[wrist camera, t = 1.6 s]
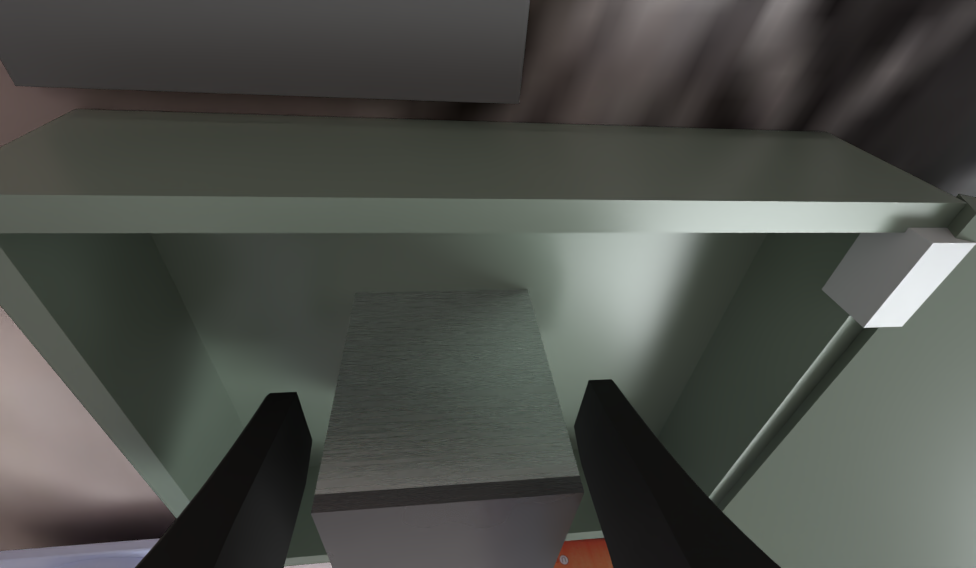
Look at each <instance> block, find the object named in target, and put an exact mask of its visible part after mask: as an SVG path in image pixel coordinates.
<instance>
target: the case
mask: <svg viewBox="0 0 976 568" xmlns="http://www.w3.org/2000/svg"><path fill="white" fill-rule="evenodd" d="M472 290H528V292H529V295H530V299H531V302H532V306H533V310H534V313H535V317H536V320H537V324H538V328H539V331H540V335H541V338H542V342H543V346H544V349H545V353H546V356H547V360H548V363H549V367H550V371H551V374H552V378H553V381H554V385H555V389H556V392H557V396H558V399H559V403H560V407H561V410H562V414H563V417H564V421H565V424H566V428H567V432H568V435H569V439H570V442H571V446H572V450H573V453H574V457H575V460H576V464H577V468H578V471H579V475H580V478H581V482H582V485H583V489H584V495H583V497H582V500H581V502H580V505H579V507H578V510H577V512H576V514H575V517H574V519H573V522H572V524H571V527H570V529H569V531H568V534H567V536H566V539H565V541H571V540H583V539H594V538H604V535H603V532H602V529H601V526H600V523H599V520H598V517H597V513H596V510H595V507H594V504H593V501H592V498H591V495H590V491H589V488H588V485H587V482H586V479H585V475H584V472H583V469H582V465H581V461H580V456H579V451H578V446H577V441H576V435H575V430H574V424H575V421H576V418H577V415H578V412H579V409H580V406H581V402H582V399H583V396H584V393H585V390H586V387H587V384H588V381H589V380H602V379H612V380H613V381H614V382H615V384H616V385H617V386H618V388H619V389H620V390H621V392H622V393H623V394H624V396H625V397H626V398H627V400H628V401H629V402H630V404H631V405H632V406H633V407H634V409H635V410H636V411H637V413H638V414H639V415H640V417H641V418H642V419H643V420H644V422H645V423H646V424H647V426H648V427H649V428H650V429H651V431H652V432H653V433H654V434H655V436H656V437H657V438H658V439H659V441H660V442H661V443H662V444H663V445H664V447H665V448H666V449H667V450H668V451H669V453H670V454H671V455H672V456H673V458H674V459H675V460H676V461H677V462H678V463H679V465H680V466H681V467H682V468H683V469H684V470H685V472H686V473H687V474H688V475H689V476H690V477H691V478H692V479H693V481H694V482H695V483H696V484H697V485H698V486H699V487H700V488H701V489H702V491H703V492H704V493H705V494H706V495H707V496H708V497H709V498H710V499H711V500H712V501H713V502H714V503H715V504H716V506H717V507H718V508H719V509H720V510H721V511H722V512H723V513H724V514H725V515H726V516H727V517H728V518H729V519H730V520H731V521H732V522H733V523H734V524H735V525H736V526H737V527H738V528H739V529H740V530H741V531H742V532H743V533H744V534H745V535H746V536H747V537H749V538H750V539H751V540H752V541H753V542H754V543H755V544H756V545H757V546H758V547H759V548H760V549H761V550H762V551H763V552H764V553H765V554H767V555H768V556H769V557H770V558H771V559H772V560H773V561H774V562H775V563H777V564H778V565H779V566H780V567H781V568H976V197H971V196H966V195H961V194H958V196H957V197H954V196H952V195H950V194H948V193H946V192H944V191H942V190H940V189H938V188H936V187H934V186H932V185H930V184H928V183H926V182H925V181H923V180H921V179H919V178H917V177H915V176H913V175H911V174H909V173H907V172H905V171H903V170H901V169H899V168H897V167H895V166H893V165H891V164H889V163H887V162H885V161H883V160H881V159H879V158H877V157H875V156H873V155H871V154H869V153H867V152H865V151H863V150H861V149H859V148H857V147H855V146H853V145H851V144H849V143H847V142H845V141H843V140H841V139H839V138H837V137H835V136H833V135H831V134H829V133H827V132H811V131H778V130H746V129H713V128H680V127H648V126H615V125H583V124H550V123H517V122H485V121H452V120H419V119H387V118H354V117H321V116H289V115H256V114H224V113H191V112H158V111H126V110H93V109H75V110H73V111H71V112H69V113H67V114H65V115H63V116H61V117H59V118H57V119H55V120H53V121H51V122H49V123H47V124H45V125H43V126H41V127H39V128H37V129H35V130H33V131H31V132H29V133H27V134H25V135H23V136H21V137H19V138H17V139H15V140H14V141H12V142H10V143H8V144H6V145H4V146H2V147H0V306H1V307H2V308H3V309H4V310H5V312H6V313H7V314H8V315H9V316H10V318H11V319H12V320H13V321H14V323H15V324H16V325H17V326H18V327H19V329H20V330H21V331H22V332H23V333H24V335H25V336H26V337H27V338H28V339H29V341H30V342H31V343H32V344H33V346H34V347H35V348H36V349H37V350H38V352H39V353H40V354H41V355H42V356H43V358H44V359H45V360H46V361H47V362H48V364H49V365H50V366H51V367H52V369H53V370H54V371H55V372H56V373H57V375H58V376H59V377H60V378H61V379H62V381H63V382H64V383H65V384H66V385H67V387H68V388H69V389H70V390H71V392H72V393H73V394H74V395H75V396H76V398H77V399H78V400H79V401H80V402H81V404H82V405H83V406H84V407H85V408H86V410H87V411H88V412H89V413H90V415H91V416H92V417H93V418H94V419H95V421H96V422H97V423H98V424H99V425H100V427H101V428H102V429H103V430H104V432H105V433H106V434H107V435H108V436H109V438H110V439H111V440H112V441H113V442H114V444H115V445H116V446H117V447H118V448H119V450H120V451H121V452H122V453H123V455H124V456H125V457H126V458H127V459H128V461H129V462H130V463H131V464H132V465H133V467H134V468H135V469H136V470H137V471H138V473H139V474H140V475H141V476H142V478H143V479H144V480H145V481H146V482H147V484H148V485H149V486H150V487H151V488H152V490H153V491H154V492H155V493H156V494H157V496H158V497H159V498H160V499H161V501H162V502H163V503H164V504H165V505H166V507H167V508H168V509H169V510H170V511H171V513H172V514H173V515H174V516H175V517H176V519H177V517H178V516H179V515H180V514H181V513H182V511H183V510H184V509H185V508H186V506H187V505H188V504H189V503H190V501H191V500H192V499H193V498H194V496H195V495H196V494H197V493H198V491H199V490H200V489H201V488H202V486H203V485H204V484H205V482H206V481H207V480H208V478H209V477H210V476H211V474H212V473H213V471H214V470H215V469H216V467H217V466H218V465H219V463H220V462H221V461H222V459H223V458H224V457H225V455H226V454H227V453H228V451H229V450H230V448H231V447H232V446H233V444H234V443H235V441H236V440H237V438H238V437H239V436H240V434H241V433H242V431H243V430H244V428H245V427H246V425H247V424H248V423H249V421H250V420H251V418H252V417H253V415H254V414H255V412H256V411H257V409H258V408H259V406H260V405H261V403H262V402H263V400H264V398H265V397H266V396H267V395H268V394H269V393H280V392H297V394H298V397H299V400H300V404H301V407H302V410H303V413H304V416H305V419H306V422H307V425H308V428H309V431H310V434H311V437H312V447H311V454H310V461H309V468H308V474H307V480H306V485H305V489H304V493H303V497H302V501H301V505H300V508H299V512H298V516H297V520H296V523H295V527H294V531H293V535H292V538H291V542H290V546H289V549H288V553H287V557H286V561H285V564H284V566H293V565H304V564H316V563H327V562H330V560H329V558H328V555H327V553H326V550H325V548H324V545H323V543H322V540H321V538H320V535H319V533H318V530H317V528H316V525H315V523H314V520H313V518H312V515H311V510H312V505H313V500H314V495H315V490H316V485H317V480H318V475H319V470H320V465H321V460H322V455H323V450H324V445H325V440H326V435H327V430H328V425H329V420H330V415H331V410H332V405H333V400H334V395H335V390H336V385H337V380H338V375H339V370H340V365H341V360H342V356H343V351H344V346H345V341H346V336H347V331H348V326H349V321H350V316H351V311H352V306H353V301H354V296H355V292H413V291H472Z"/></svg>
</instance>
